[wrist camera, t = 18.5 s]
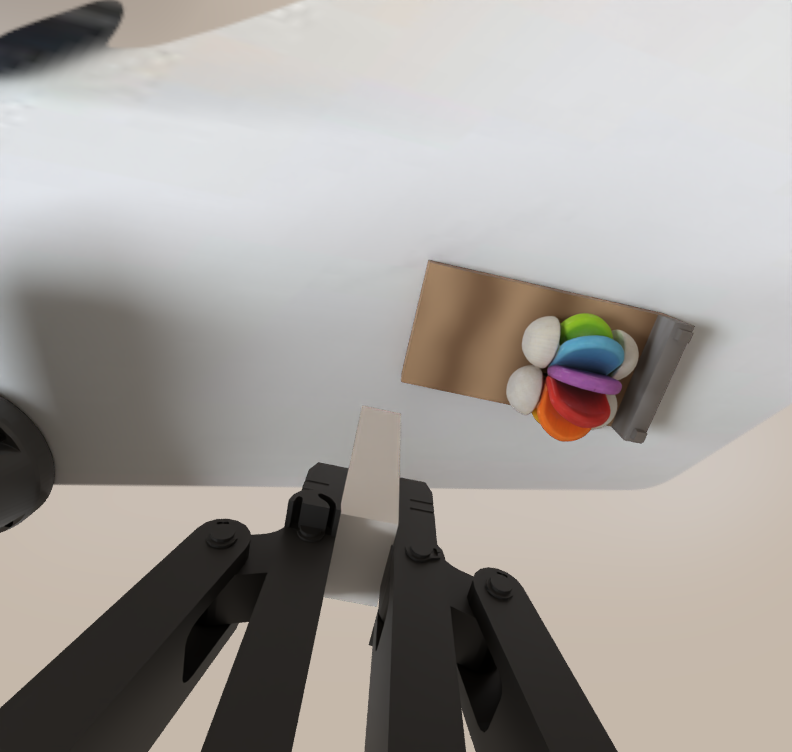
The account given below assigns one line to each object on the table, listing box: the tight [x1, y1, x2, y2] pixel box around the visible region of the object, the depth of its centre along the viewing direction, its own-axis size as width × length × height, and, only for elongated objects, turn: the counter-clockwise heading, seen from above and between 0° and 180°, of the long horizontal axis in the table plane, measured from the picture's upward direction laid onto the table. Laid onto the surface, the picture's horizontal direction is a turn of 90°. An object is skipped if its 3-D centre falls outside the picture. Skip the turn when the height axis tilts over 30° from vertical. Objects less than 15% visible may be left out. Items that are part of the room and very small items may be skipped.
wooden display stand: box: [401, 260, 695, 444], centre depth 37 cm, size 20×10×5 cm, turn 78°
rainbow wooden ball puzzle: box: [506, 313, 639, 441], centre depth 35 cm, size 8×10×7 cm
